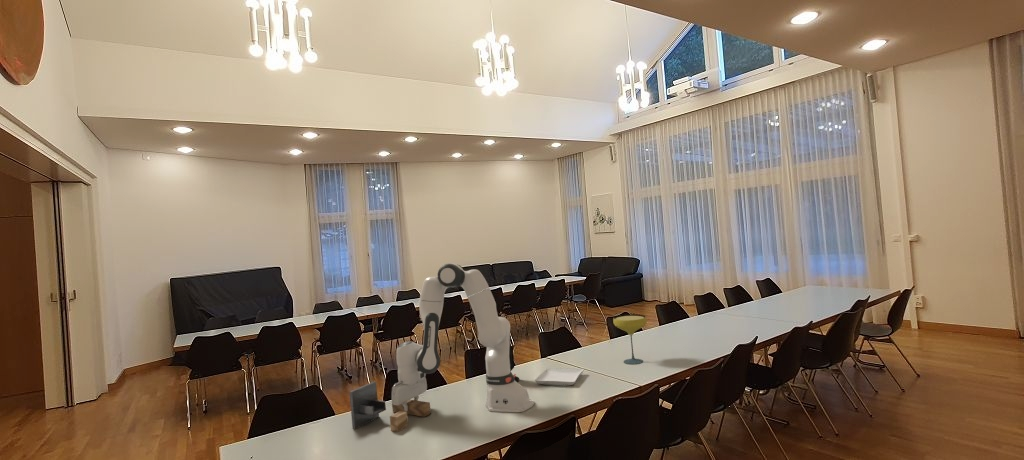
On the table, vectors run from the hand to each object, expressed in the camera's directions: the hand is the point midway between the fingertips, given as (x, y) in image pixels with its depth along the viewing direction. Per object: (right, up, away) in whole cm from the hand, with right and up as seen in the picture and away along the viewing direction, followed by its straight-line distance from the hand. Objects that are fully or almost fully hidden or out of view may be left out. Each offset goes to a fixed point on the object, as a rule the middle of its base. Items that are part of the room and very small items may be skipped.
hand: (411, 408), depth 219 cm
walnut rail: (0, -2, 0) cm, 2 cm away
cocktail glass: (+114, +7, +51) cm, 125 cm away
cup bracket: (-15, -4, -8) cm, 18 cm away
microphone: (+43, +1, +35) cm, 56 cm away
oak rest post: (-1, -2, -16) cm, 17 cm away
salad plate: (+71, +3, +29) cm, 77 cm away
